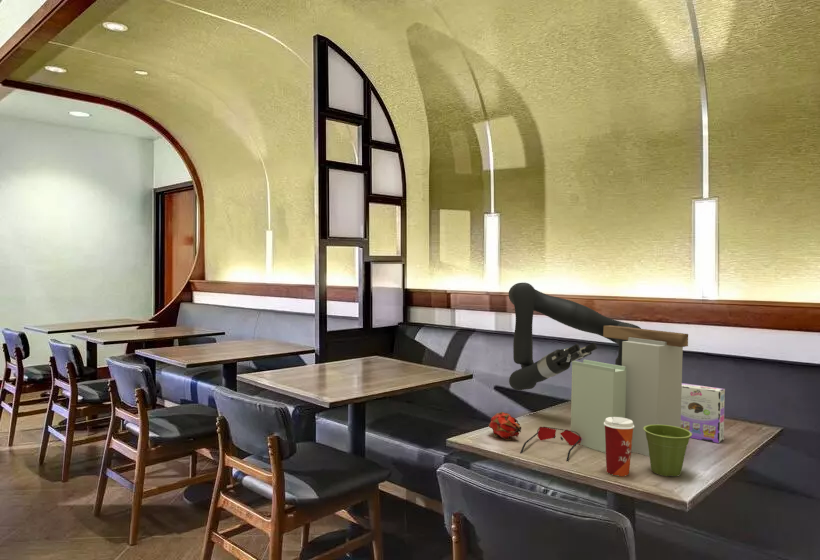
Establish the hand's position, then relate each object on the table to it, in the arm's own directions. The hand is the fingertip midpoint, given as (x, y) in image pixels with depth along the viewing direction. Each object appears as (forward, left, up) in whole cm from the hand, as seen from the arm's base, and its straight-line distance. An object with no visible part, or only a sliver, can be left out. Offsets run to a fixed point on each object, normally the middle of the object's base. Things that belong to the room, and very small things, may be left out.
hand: (587, 346), depth 194 cm
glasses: (+25, +8, -29) cm, 39 cm away
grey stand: (0, +24, -28) cm, 37 cm away
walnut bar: (0, +21, +4) cm, 21 cm away
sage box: (+11, +13, -28) cm, 33 cm away
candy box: (-25, +25, -28) cm, 45 cm away
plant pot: (+14, +38, -28) cm, 49 cm away
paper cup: (+25, +31, -28) cm, 49 cm away
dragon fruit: (+28, -8, -28) cm, 41 cm away
